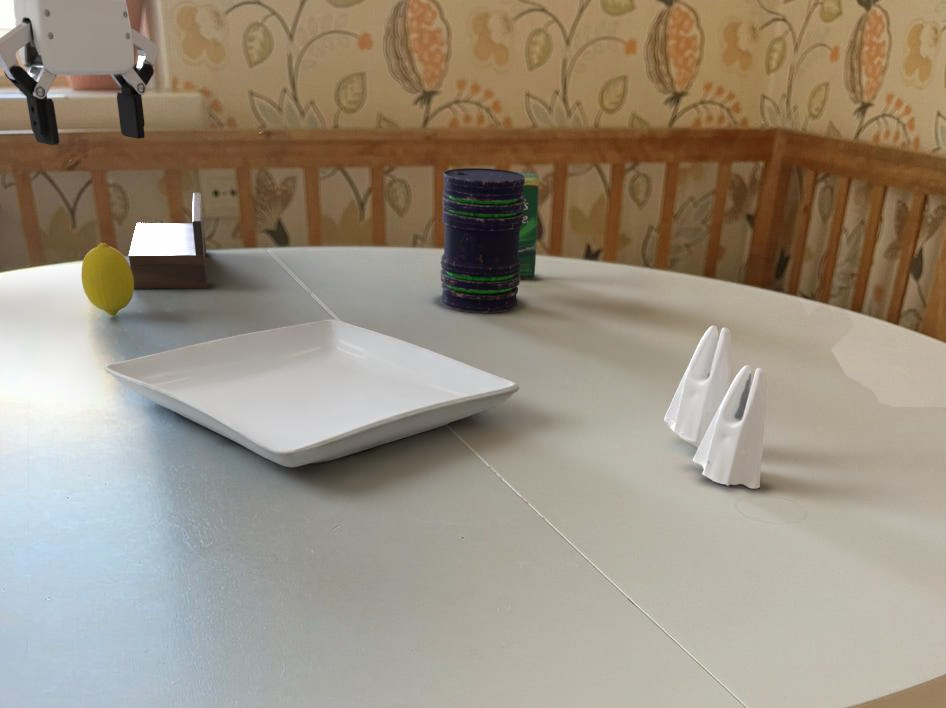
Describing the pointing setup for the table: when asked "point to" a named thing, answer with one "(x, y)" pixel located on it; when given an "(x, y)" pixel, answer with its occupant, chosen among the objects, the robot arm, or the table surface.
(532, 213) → the coffee box
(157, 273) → the block with corner post
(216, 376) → the square plate
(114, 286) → the lemon
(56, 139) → the robot arm
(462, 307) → the navy striped canister
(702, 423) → the shaker set
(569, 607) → the table surface
